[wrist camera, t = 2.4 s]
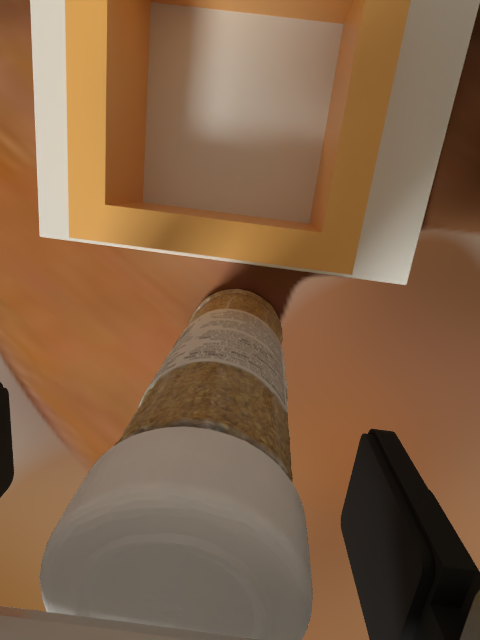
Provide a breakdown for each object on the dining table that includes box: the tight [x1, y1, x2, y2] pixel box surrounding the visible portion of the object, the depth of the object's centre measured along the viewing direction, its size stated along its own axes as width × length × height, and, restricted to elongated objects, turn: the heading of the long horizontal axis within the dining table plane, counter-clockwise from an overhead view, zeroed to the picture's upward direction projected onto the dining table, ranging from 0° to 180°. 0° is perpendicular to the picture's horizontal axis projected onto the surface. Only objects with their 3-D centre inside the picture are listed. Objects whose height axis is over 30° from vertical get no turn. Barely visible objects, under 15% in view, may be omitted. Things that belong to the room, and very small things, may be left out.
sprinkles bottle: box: [40, 289, 312, 640], centre depth 13 cm, size 5×5×13 cm
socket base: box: [30, 0, 480, 285], centre depth 14 cm, size 16×11×5 cm
